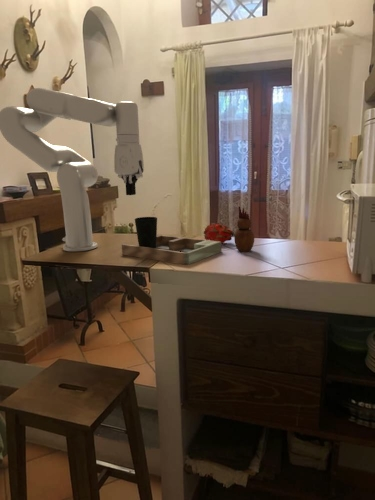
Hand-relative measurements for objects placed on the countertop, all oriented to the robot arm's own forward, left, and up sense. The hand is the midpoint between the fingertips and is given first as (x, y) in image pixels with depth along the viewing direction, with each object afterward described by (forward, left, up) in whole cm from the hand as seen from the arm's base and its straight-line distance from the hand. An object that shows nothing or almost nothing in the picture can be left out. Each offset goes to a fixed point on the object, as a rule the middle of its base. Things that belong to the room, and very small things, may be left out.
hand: (131, 194), depth 137 cm
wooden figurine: (+35, +17, -20) cm, 44 cm away
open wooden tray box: (+15, +2, -20) cm, 25 cm away
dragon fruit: (+21, +23, -20) cm, 37 cm away
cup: (+7, -1, -20) cm, 21 cm away
